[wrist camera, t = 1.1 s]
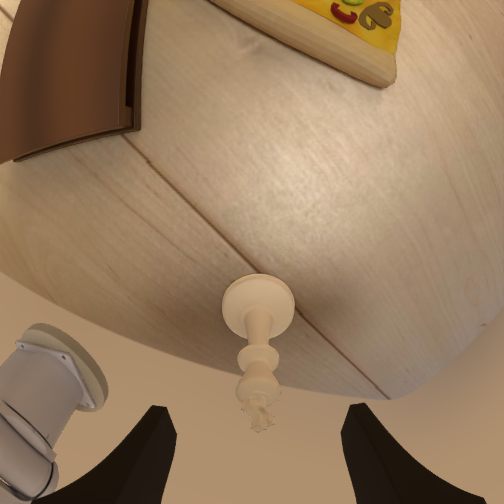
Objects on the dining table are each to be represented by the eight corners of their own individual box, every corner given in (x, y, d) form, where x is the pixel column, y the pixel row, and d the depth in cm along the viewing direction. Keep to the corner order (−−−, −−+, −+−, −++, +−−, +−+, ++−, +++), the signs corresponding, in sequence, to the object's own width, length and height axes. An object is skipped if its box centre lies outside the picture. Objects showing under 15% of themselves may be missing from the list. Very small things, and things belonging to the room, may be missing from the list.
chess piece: (251, 346, 20) (248, 464, 10) (207, 300, 19) (170, 416, 9) (308, 311, 19) (341, 428, 9) (265, 258, 18) (274, 367, 8)
